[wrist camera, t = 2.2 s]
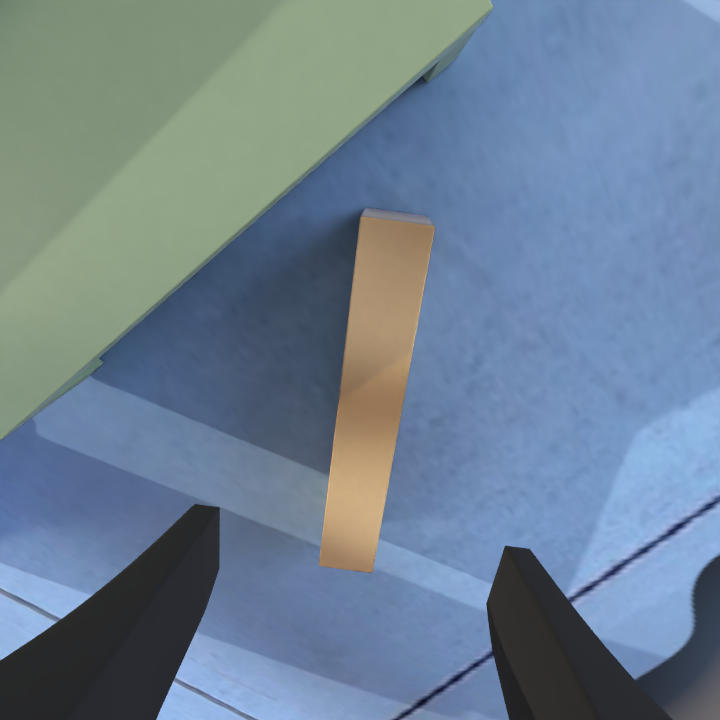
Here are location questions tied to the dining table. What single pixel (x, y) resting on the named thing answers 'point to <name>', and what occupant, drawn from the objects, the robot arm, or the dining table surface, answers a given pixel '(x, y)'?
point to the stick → (373, 381)
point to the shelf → (170, 148)
